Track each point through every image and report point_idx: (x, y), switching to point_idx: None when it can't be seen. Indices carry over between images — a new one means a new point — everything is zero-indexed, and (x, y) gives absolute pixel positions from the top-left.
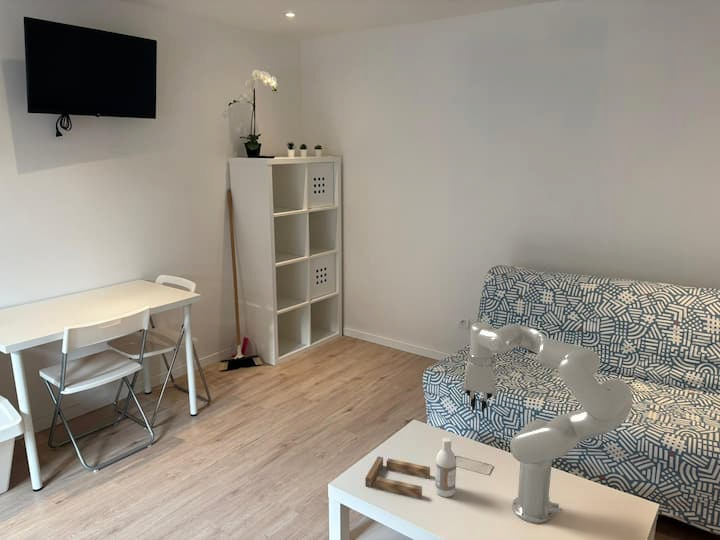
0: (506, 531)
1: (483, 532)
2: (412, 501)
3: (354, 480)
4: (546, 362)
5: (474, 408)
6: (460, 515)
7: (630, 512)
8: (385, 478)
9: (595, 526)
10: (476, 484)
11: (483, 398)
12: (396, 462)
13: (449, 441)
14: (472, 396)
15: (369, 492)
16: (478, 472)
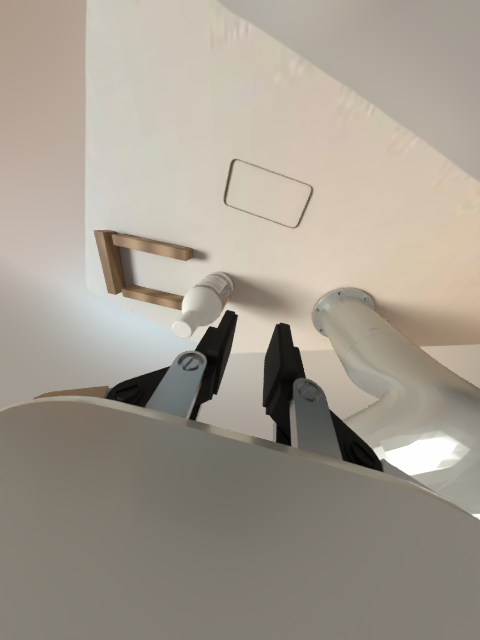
0: None
1: (265, 351)
2: None
3: (100, 277)
4: None
5: (230, 348)
6: (241, 328)
7: None
8: (132, 291)
9: (422, 335)
10: (267, 261)
11: (273, 433)
12: (129, 245)
13: (189, 336)
14: (191, 414)
15: (129, 299)
16: (275, 222)
